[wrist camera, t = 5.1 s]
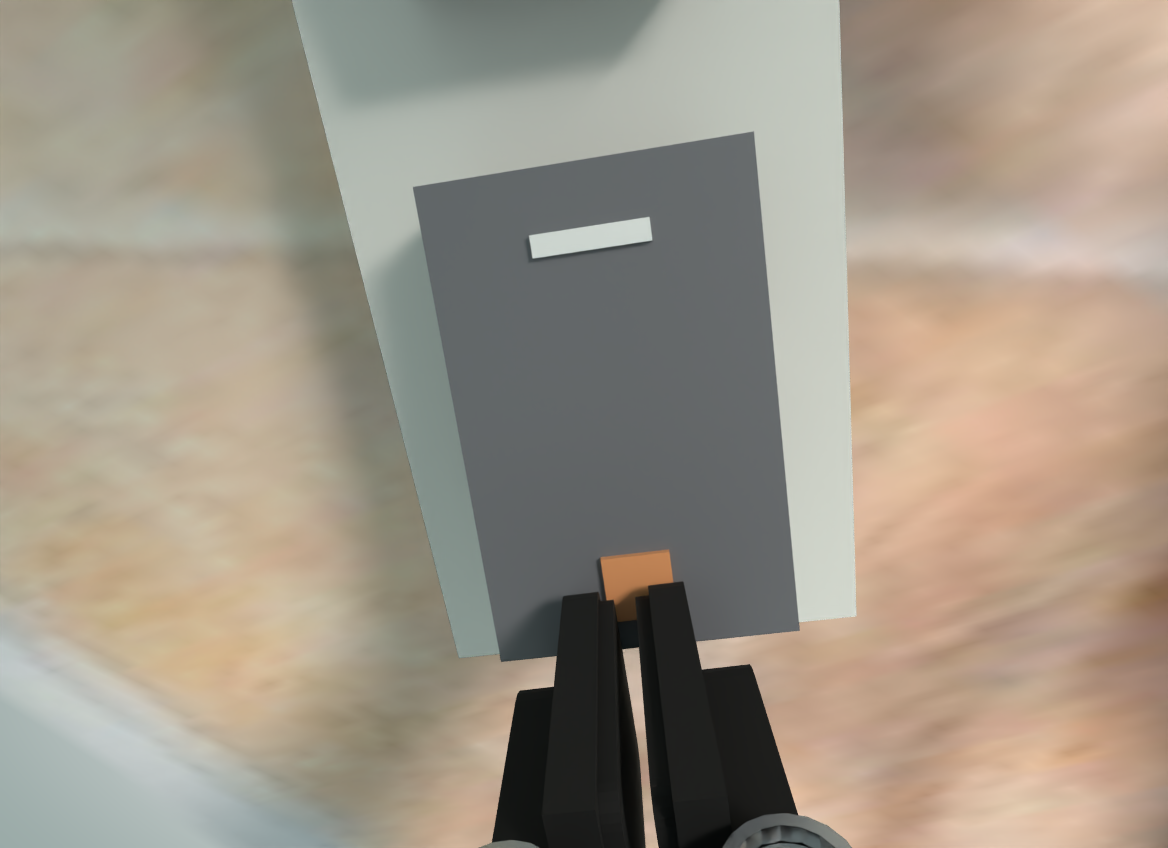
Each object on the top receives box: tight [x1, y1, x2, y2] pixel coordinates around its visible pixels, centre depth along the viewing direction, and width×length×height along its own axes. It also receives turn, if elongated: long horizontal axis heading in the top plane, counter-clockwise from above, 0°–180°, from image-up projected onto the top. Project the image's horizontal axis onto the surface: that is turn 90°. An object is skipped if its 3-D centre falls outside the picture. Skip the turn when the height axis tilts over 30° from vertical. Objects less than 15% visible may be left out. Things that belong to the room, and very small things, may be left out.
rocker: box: [413, 131, 800, 662], centre depth 11 cm, size 7×4×2 cm, turn 9°
